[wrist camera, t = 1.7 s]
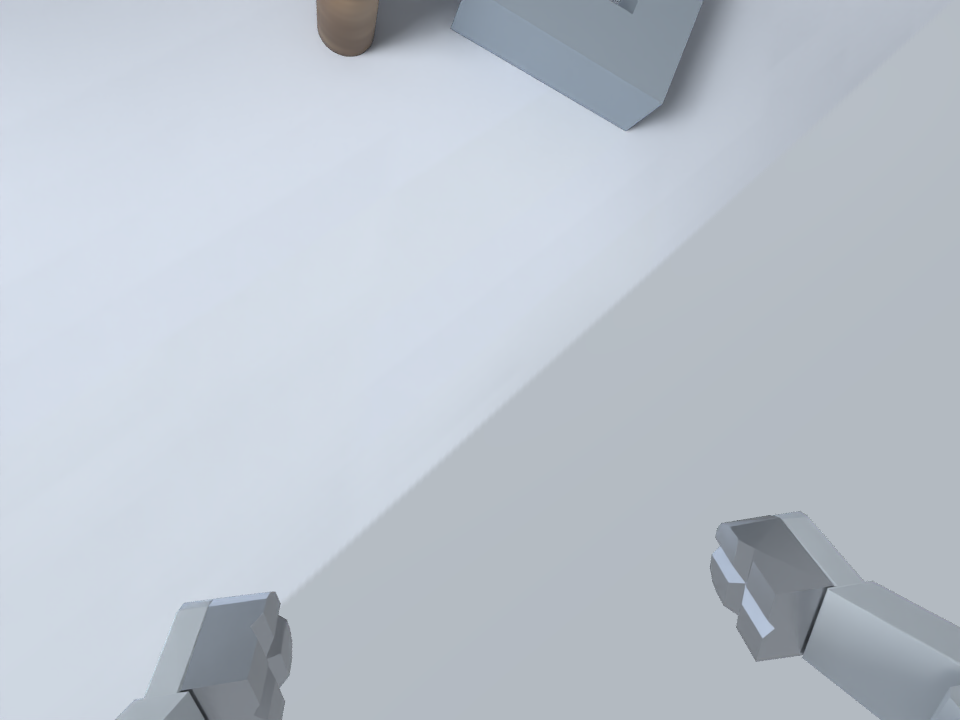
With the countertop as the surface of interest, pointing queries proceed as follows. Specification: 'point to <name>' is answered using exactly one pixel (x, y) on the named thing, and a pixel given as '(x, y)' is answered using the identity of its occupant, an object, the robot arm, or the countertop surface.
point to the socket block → (588, 47)
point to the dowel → (347, 25)
